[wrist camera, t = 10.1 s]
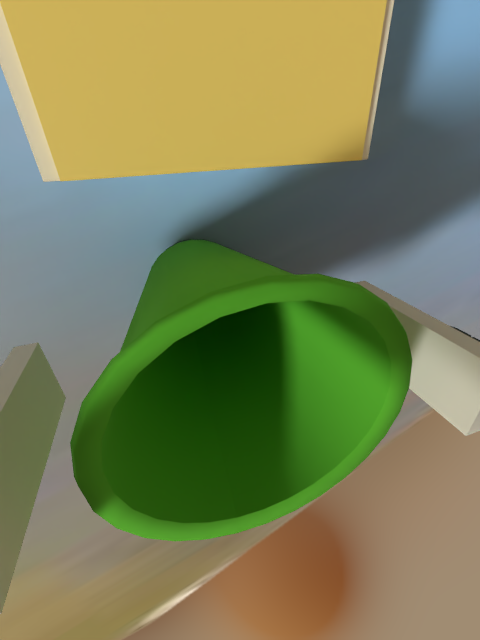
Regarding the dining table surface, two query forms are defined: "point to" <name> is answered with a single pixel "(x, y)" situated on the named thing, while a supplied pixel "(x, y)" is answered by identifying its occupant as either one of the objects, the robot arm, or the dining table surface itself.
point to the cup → (236, 395)
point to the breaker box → (192, 82)
